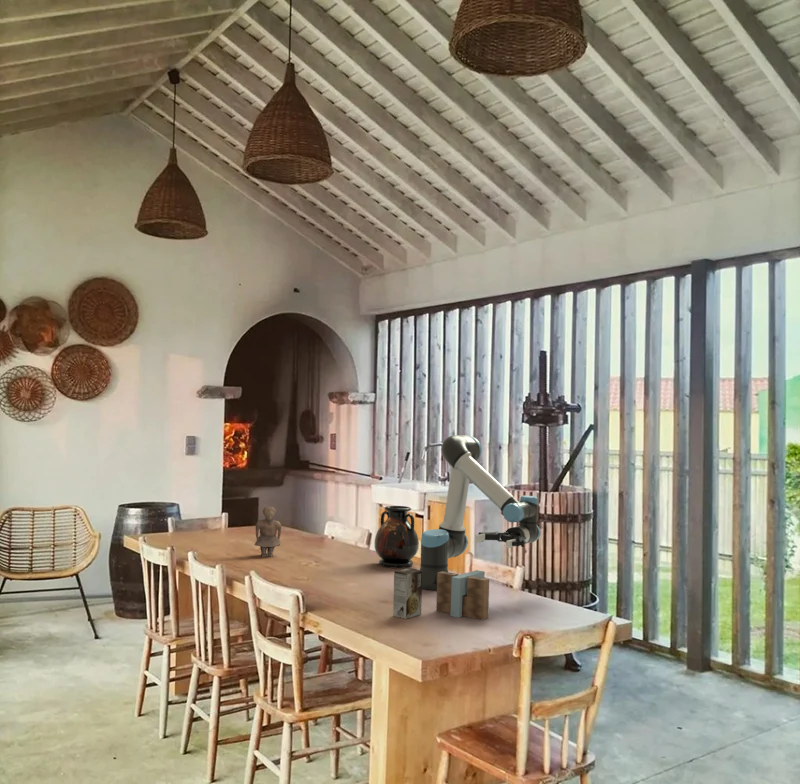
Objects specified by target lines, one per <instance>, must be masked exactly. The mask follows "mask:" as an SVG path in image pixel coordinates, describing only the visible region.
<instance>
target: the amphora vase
mask: <svg viewBox="0 0 800 784" xmlns="http://www.w3.org/2000/svg"><path fill="white" fill-rule="evenodd" d="M411 510H412V508H411V507H409V506H405V505H387V506H385V507H384V511H383V512H382V513H381V515H380V526H379V528H378V530H377V532H376V534H375V538H374V550H375V552H376V554H377V556H378V557H379V558H380V559H379V561H378V563H379V565H380V566H382V567H385V566H386V567H385V568H391V567H397V568H396V569H400V568H401V569H404V568H403V567H405V568H411V567H412V565H414V562H413V560H412V559H413V558H414V557H415V556H416V555H417V553H418V551H419V547H420V541H419V540H420V539H419V536H418V533H417V531H416V529H415V517H414V516H413V514H411V513H408V512H410V511H411ZM385 515H386V516H387V519H386V520H385V517H386V516H385ZM408 518H409V519H410V521H409V520H408Z"/></svg>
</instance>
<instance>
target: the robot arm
mask: <svg viewBox="0 0 800 784" xmlns="http://www.w3.org/2000/svg"><path fill="white" fill-rule="evenodd" d="M441 454H442V457H443V459H444V461H446V462H447V463H448V465H449V466H450V468H451V470H450V474H449V475H450V476H449V482H448V483H449V484H448V490H447V496H446V504H445V510H444V516H443V521H442V522H441V523H440V524H439V526H438V528H437V529H434V528H433V529H428V530H425V531H423V532H422V534H421V538H420V567H419V570H422V590H429V591H437V573H438V572H442V571H443V572H449V559H451V558H456V557H459V556H460V555H462V554H463V553H464V552H465V551H466V550H467V547H468V536H467V535H466V527H465V525H464V520H465V519H464V518H465V513H466V506H467V498H468V493H469V486H470V482H471V484H473V485H474V486H475V487H476V488H478V490H479V491H480V492H482V493H483V494H484V496H485V497H486V498H488V499H489V500H490V501H491V502H492V503H493V504H494V505H495V506H496V507H497V508H498V510H500V511H501V512H502V515H503V519H505V520H506V521H507V522H509V523H518V525H516V526H514V527H512V526H511V527H509V528H507V529H506V530H505V531H504V532H499V531H492V532H491V531H490V532H489V531H488V532H487V531H486V532H483V531H482V532H478V534H476V535H474V536H475V537H474V543H480V542H482V543H483V542H485V541H497V542H501V543H505V548H506V549H510V548H514V547H520V548H521V547H522V548H524V547H525V545H526V544H532V543H534V542H536V541H538V540H539V539H540V538H541V530H540V529H541V528H540V526H538V517H539V515H538V514H539V498H538V497H537V496H533V495H521V496H520V497H519V500H518V499H517V498H516V497H514V495H513V494H511V493H510V492H509V491H508V490H507V488H505V487H504V486H503V485H502V484H501V483H500V482H499V481H497V479H495V477H493V476H492V475H491V474H490V473H489V472H488V471H487V470H486V469H485V468H484V467H483V466H482V465H481V464H480V463H478V459H479V458H480V457H481V454H482V445H481V442H480V441H479V440H478V439H477V438H476V437H474V436H471V435H468V434H461V435H459V434H458V435H457V434H456V435H454V434H453V435H450V436H448V437H446V438H445V439H444V441H443V442H442V444H441Z"/></svg>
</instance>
